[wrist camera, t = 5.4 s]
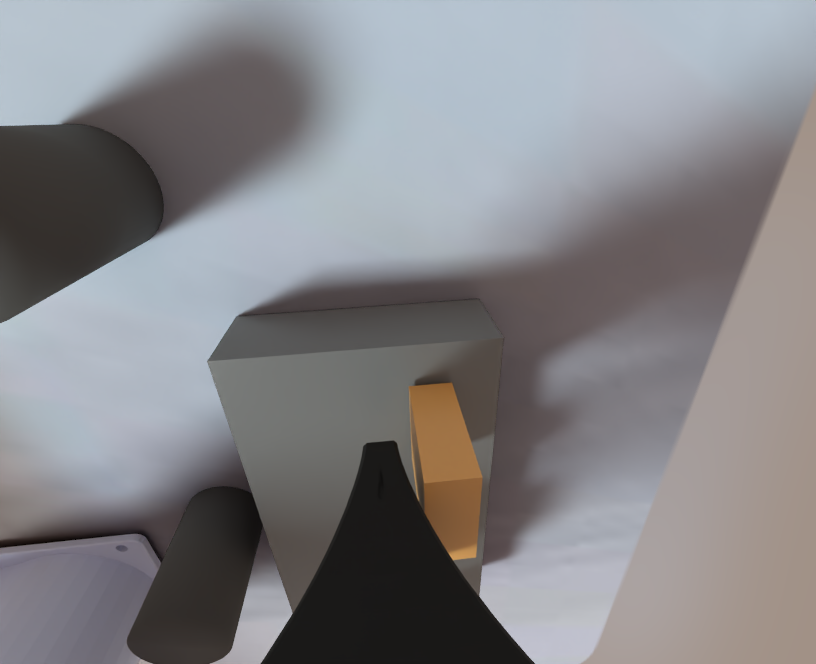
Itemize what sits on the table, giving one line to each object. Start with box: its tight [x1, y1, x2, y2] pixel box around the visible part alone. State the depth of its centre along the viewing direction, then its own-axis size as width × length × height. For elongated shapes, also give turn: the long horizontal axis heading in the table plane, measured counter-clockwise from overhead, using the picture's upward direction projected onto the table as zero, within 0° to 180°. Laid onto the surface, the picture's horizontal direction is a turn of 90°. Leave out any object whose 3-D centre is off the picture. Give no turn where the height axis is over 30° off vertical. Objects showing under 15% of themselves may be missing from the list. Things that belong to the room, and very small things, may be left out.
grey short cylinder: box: [127, 487, 263, 664], centre depth 17 cm, size 4×4×6 cm
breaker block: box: [207, 299, 504, 612], centre depth 16 cm, size 9×18×7 cm, turn 2°
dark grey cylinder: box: [0, 124, 163, 323], centre depth 10 cm, size 4×4×6 cm
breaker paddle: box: [409, 383, 483, 560], centre depth 12 cm, size 1×3×4 cm, turn 2°
